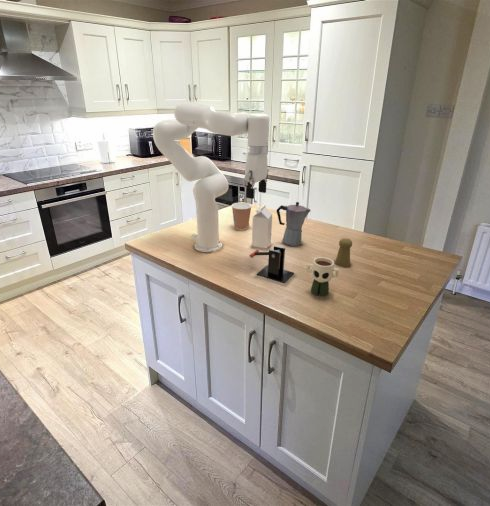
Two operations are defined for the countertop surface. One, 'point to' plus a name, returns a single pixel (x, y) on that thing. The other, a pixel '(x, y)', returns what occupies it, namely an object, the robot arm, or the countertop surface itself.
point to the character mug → (322, 275)
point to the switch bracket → (276, 266)
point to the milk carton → (262, 228)
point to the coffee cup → (241, 215)
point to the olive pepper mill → (344, 253)
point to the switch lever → (262, 253)
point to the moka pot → (293, 223)
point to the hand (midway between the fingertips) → (256, 195)
